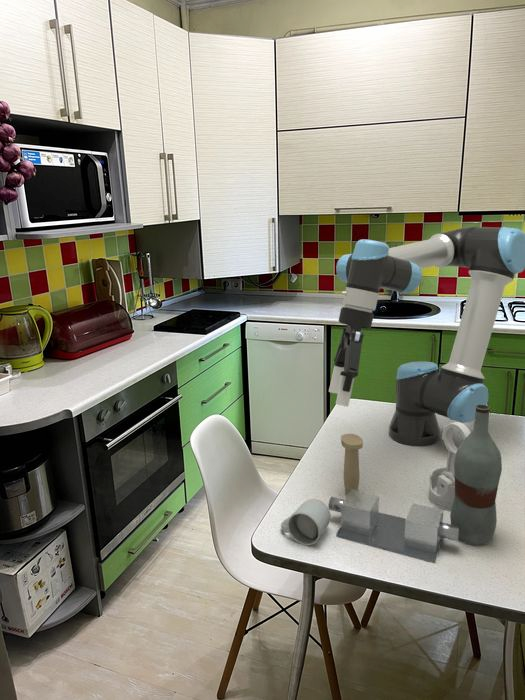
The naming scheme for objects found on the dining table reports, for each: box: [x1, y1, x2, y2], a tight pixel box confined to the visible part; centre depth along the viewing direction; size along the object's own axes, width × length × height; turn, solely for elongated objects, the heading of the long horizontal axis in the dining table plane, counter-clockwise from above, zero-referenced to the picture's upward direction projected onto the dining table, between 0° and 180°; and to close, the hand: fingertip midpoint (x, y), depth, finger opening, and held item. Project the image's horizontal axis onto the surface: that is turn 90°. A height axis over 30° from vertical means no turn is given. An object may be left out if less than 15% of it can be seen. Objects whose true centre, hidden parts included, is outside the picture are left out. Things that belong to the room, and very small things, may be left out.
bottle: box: [449, 404, 503, 547], centre depth 111 cm, size 9×9×30 cm
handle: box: [340, 433, 364, 496], centre depth 131 cm, size 5×6×15 cm
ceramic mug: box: [280, 498, 332, 546], centre depth 117 cm, size 11×8×8 cm
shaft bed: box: [327, 489, 460, 564], centre depth 116 cm, size 12×28×7 cm, turn 63°
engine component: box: [428, 421, 472, 512], centre depth 126 cm, size 11×20×10 cm
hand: (337, 398), depth 123 cm, fingers open, 13 cm apart
